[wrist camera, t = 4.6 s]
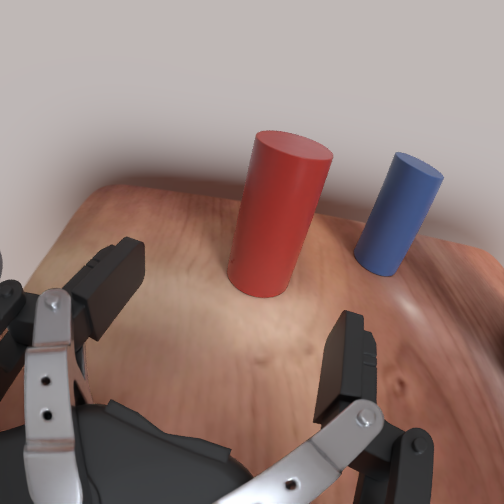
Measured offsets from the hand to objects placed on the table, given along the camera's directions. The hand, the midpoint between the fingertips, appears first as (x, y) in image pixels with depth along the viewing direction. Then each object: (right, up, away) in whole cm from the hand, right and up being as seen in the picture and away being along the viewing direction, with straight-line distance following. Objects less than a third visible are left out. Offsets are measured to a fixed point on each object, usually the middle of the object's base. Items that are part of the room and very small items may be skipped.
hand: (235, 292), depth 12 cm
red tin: (+1, 0, +13) cm, 13 cm away
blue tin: (+13, +1, +19) cm, 23 cm away
